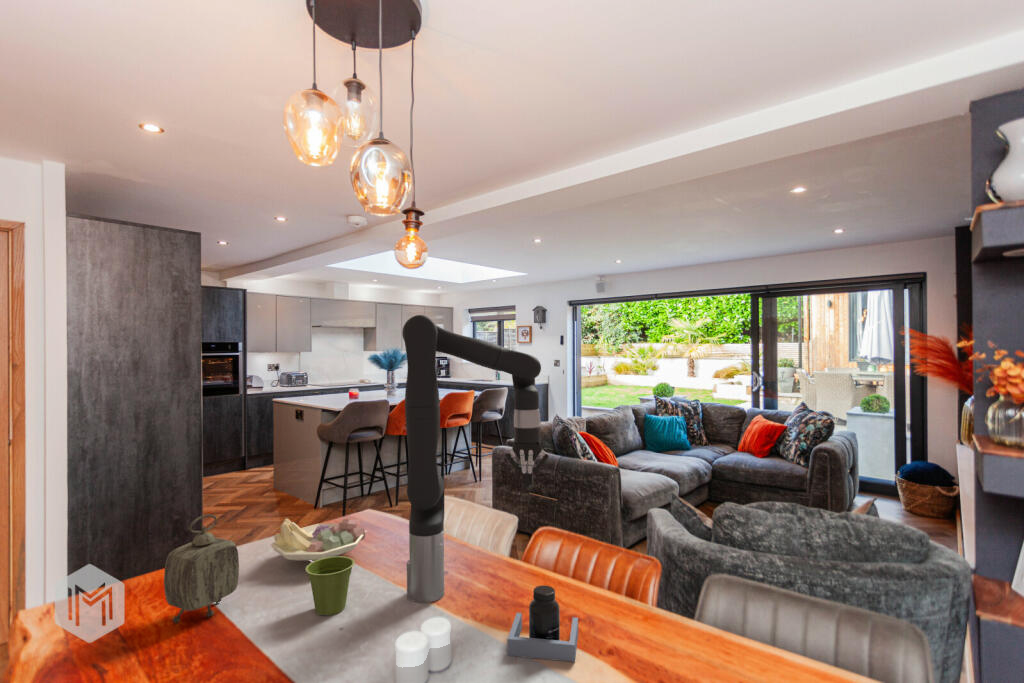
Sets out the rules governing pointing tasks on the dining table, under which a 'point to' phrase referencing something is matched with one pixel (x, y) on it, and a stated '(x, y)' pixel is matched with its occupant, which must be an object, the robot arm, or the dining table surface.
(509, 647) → the bay
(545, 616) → the supplement bottle
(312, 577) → the plant pot
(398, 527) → the dining table surface
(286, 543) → the dish with food
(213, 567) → the tabletop clock
